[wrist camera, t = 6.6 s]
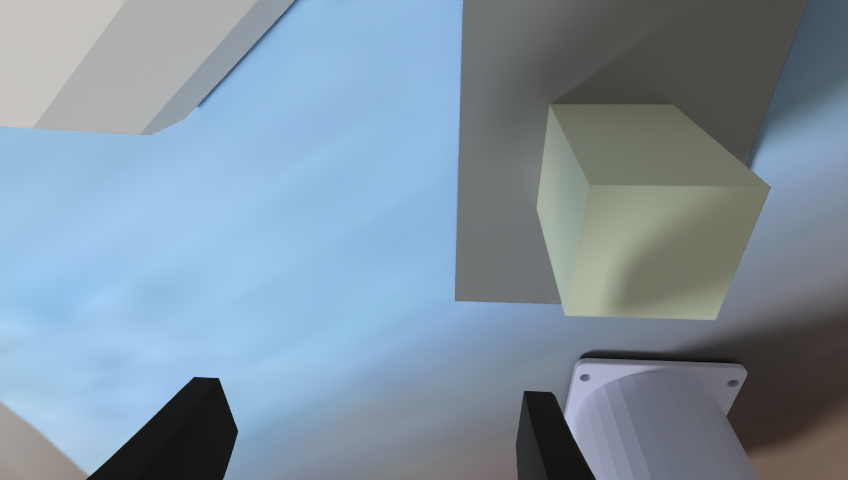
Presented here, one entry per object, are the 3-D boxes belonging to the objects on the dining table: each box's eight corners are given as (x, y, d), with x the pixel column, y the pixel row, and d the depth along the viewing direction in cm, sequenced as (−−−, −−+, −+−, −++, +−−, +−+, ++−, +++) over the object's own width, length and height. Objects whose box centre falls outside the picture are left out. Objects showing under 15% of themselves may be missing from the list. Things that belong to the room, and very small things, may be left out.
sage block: (644, 210, 18) (715, 319, 13) (536, 208, 18) (565, 315, 13) (672, 104, 16) (771, 187, 11) (549, 103, 16) (589, 185, 11)
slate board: (682, 293, 21) (691, 307, 20) (455, 286, 22) (454, 300, 21) (820, -92, 14) (843, -94, 13) (465, -87, 14) (465, -87, 13)
